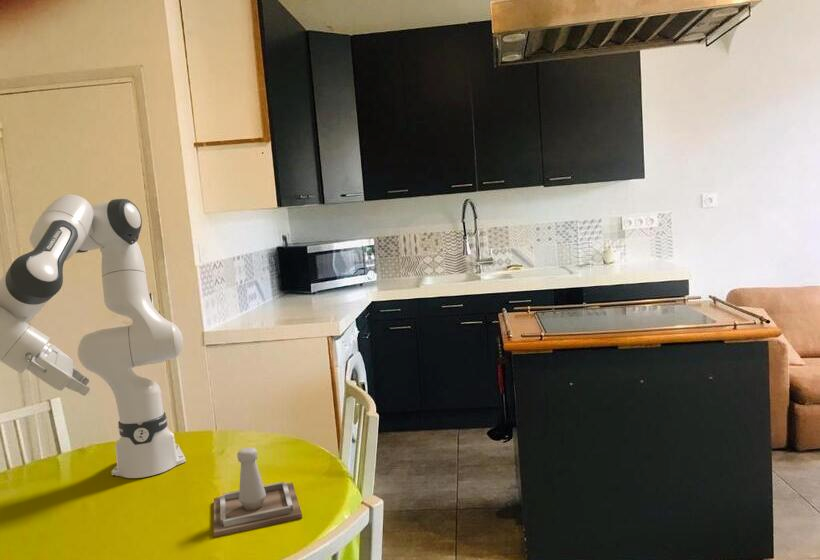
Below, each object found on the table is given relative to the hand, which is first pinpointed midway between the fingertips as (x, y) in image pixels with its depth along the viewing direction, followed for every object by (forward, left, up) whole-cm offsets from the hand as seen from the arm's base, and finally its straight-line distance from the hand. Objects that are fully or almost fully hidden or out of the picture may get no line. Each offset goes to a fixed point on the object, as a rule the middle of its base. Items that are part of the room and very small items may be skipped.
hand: (87, 387), depth 144 cm
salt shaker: (+7, +31, -31) cm, 44 cm away
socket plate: (+7, +31, -31) cm, 45 cm away
